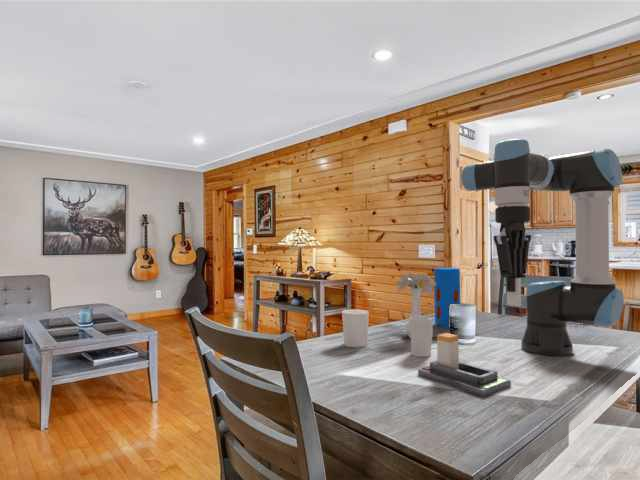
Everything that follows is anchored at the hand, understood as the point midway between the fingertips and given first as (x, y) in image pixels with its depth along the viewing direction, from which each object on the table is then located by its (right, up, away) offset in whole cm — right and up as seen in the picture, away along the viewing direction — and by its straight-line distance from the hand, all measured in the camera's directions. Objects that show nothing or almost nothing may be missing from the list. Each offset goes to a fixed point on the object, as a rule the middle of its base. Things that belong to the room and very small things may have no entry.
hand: (514, 305), depth 96 cm
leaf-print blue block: (+10, -22, +81) cm, 85 cm away
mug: (-12, -22, +37) cm, 45 cm away
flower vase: (-9, -22, +61) cm, 66 cm away
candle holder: (-33, -23, +50) cm, 64 cm away
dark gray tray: (-8, -22, +12) cm, 26 cm away
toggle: (-11, -20, +15) cm, 28 cm away
